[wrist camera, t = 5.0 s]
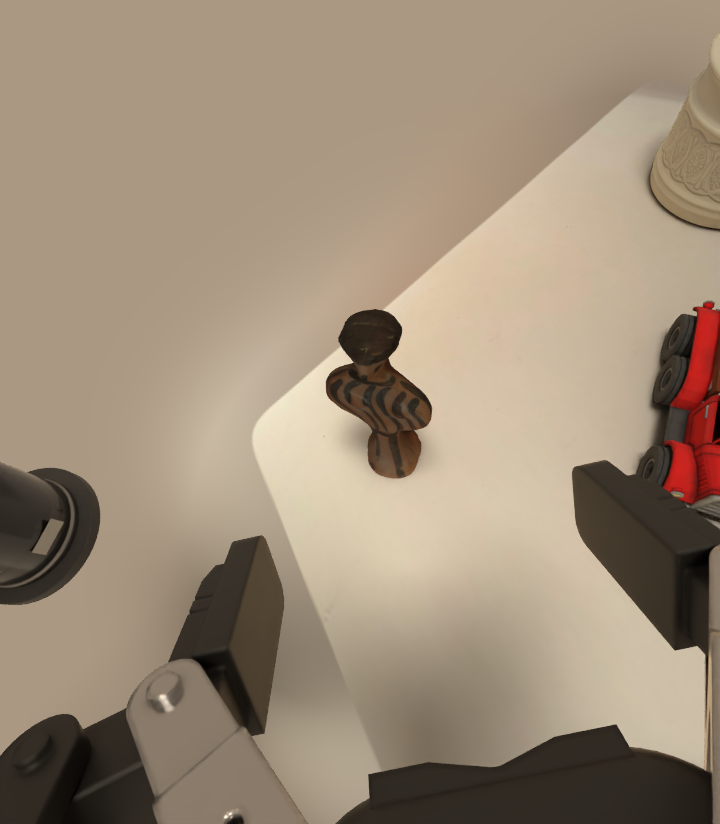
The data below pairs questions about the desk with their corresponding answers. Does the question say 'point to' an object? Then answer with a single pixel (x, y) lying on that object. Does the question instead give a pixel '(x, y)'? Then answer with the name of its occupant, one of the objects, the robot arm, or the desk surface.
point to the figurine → (380, 392)
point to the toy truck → (690, 413)
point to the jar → (693, 152)
